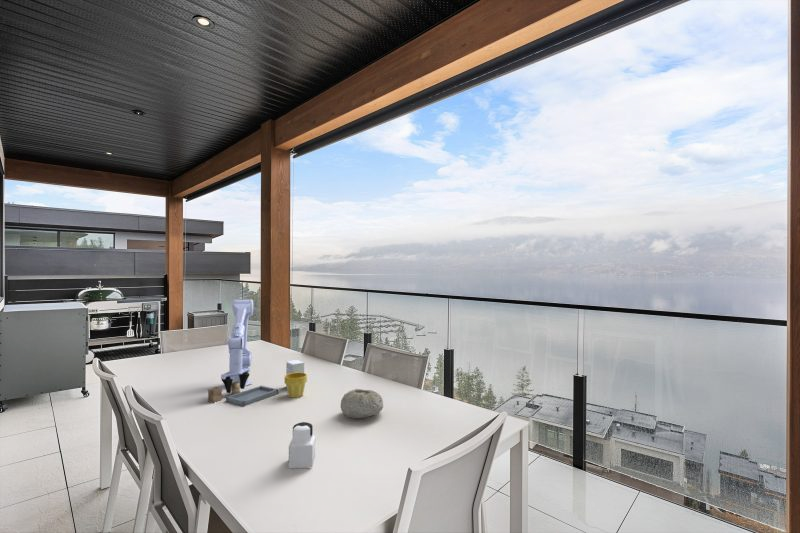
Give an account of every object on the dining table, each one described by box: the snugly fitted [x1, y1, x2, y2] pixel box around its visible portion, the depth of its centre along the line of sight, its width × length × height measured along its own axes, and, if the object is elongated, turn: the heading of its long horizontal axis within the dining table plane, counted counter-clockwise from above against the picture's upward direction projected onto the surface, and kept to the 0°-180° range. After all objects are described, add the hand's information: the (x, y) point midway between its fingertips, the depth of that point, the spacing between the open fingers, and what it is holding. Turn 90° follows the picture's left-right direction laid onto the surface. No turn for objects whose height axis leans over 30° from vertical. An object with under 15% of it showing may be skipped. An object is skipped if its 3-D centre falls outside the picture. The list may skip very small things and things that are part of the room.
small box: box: [285, 359, 305, 388], centre depth 196 cm, size 8×6×13 cm
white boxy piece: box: [288, 421, 316, 469], centre depth 121 cm, size 7×7×12 cm
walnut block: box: [207, 386, 223, 404], centre depth 175 cm, size 4×4×6 cm
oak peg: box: [230, 382, 241, 396], centre depth 185 cm, size 4×4×6 cm
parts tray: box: [225, 385, 280, 407], centre depth 180 cm, size 12×20×2 cm, turn 151°
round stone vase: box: [340, 388, 384, 419], centre depth 160 cm, size 18×18×10 cm
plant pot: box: [284, 372, 308, 399], centre depth 184 cm, size 10×10×10 cm
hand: (235, 390), depth 185 cm, fingers open, 7 cm apart
